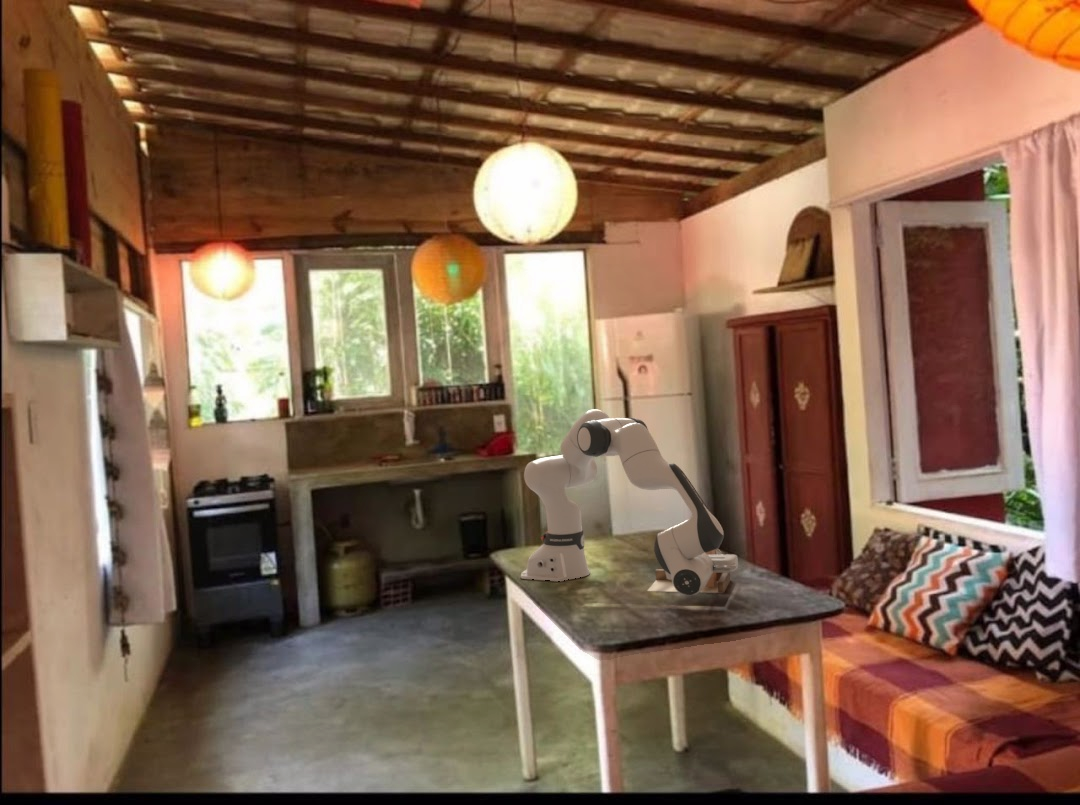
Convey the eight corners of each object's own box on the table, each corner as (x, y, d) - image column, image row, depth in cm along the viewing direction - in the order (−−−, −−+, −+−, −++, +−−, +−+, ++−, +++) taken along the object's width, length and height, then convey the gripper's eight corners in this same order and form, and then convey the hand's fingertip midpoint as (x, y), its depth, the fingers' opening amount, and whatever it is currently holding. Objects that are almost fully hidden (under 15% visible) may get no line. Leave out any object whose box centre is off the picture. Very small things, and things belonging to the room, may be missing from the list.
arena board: (647, 594, 245) (646, 580, 245) (657, 582, 258) (656, 569, 258) (723, 596, 238) (723, 582, 238) (730, 583, 251) (729, 570, 251)
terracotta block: (696, 586, 246) (694, 545, 246) (699, 582, 251) (697, 542, 251) (714, 587, 245) (711, 545, 244) (716, 582, 249) (714, 542, 249)
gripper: (734, 556, 227) (740, 545, 240) (659, 556, 234) (669, 546, 247) (736, 579, 228) (742, 567, 241) (661, 579, 234) (670, 567, 247)
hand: (704, 556), depth 244 cm, fingers open, 8 cm apart
